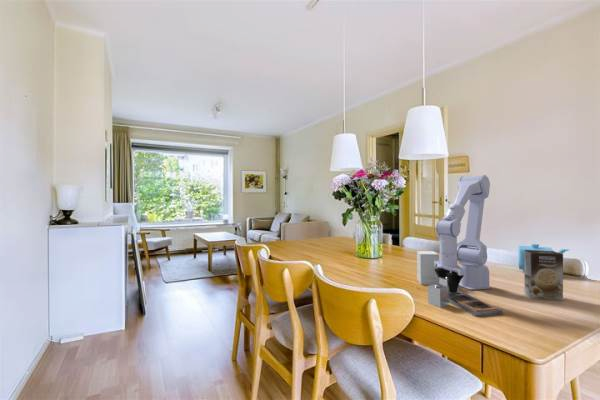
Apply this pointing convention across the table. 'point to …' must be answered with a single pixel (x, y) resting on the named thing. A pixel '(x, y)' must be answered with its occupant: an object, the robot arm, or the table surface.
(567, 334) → the table surface
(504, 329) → the table surface
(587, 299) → the table surface
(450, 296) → the grey compartment tray
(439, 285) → the grey upright block
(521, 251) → the teapot
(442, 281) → the grey rectangular block
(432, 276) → the supplement box
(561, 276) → the coffee box
